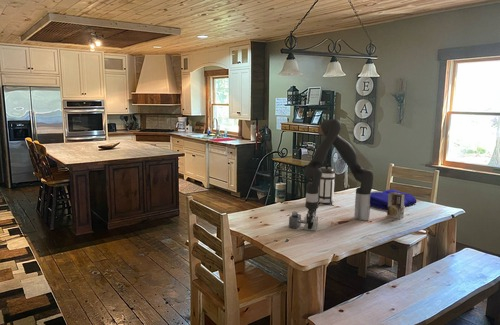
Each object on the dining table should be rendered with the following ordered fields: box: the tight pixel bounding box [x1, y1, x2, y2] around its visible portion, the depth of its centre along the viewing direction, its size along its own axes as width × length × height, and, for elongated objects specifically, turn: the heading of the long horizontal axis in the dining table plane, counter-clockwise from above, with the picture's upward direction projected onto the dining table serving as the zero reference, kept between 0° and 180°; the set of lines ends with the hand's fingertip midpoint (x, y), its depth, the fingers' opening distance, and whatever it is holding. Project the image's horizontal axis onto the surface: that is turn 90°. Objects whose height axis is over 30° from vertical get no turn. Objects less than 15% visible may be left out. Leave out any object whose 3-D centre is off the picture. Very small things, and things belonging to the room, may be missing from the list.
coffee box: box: [386, 192, 405, 220], centre depth 252 cm, size 9×6×16 cm
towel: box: [370, 189, 417, 211], centre depth 284 cm, size 26×36×9 cm
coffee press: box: [318, 163, 336, 206], centre depth 281 cm, size 17×16×30 cm
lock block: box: [303, 215, 319, 232], centre depth 226 cm, size 7×5×8 cm
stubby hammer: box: [288, 211, 308, 230], centre depth 228 cm, size 12×8×9 cm, turn 65°
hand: (310, 227), depth 226 cm, fingers closed on lock block, 5 cm apart
